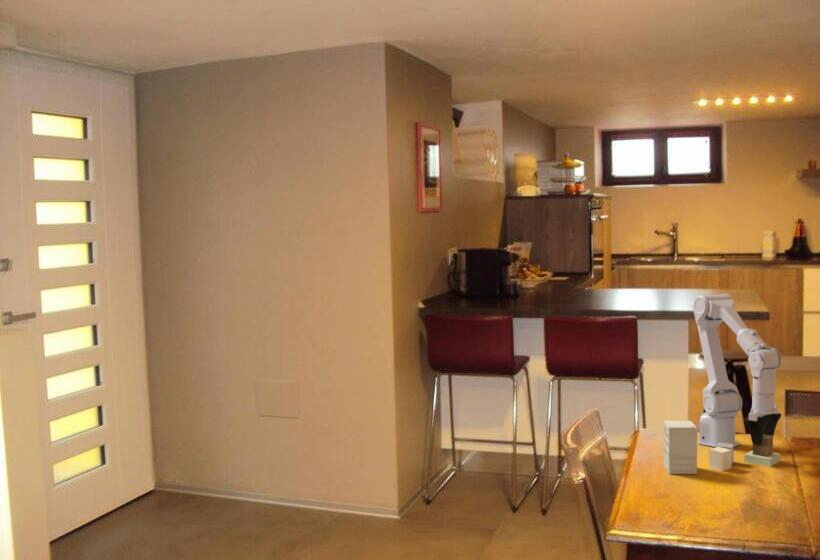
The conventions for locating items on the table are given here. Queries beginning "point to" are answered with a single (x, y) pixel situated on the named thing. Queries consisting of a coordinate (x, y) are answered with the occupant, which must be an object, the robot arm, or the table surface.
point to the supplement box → (680, 447)
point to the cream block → (720, 458)
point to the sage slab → (762, 459)
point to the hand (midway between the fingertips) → (762, 441)
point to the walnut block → (764, 446)
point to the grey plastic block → (726, 446)
